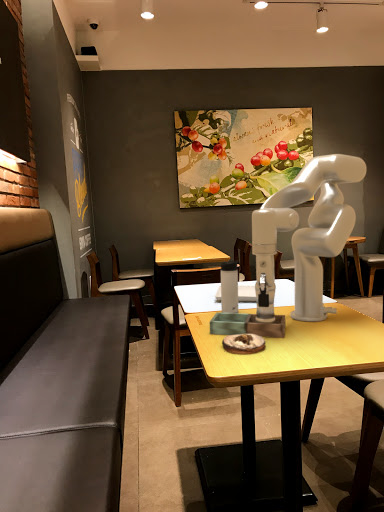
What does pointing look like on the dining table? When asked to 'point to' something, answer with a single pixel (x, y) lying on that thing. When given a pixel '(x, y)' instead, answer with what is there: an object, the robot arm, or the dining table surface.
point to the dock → (246, 325)
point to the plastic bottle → (266, 312)
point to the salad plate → (242, 294)
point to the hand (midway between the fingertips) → (265, 302)
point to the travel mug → (229, 287)
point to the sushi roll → (243, 343)
